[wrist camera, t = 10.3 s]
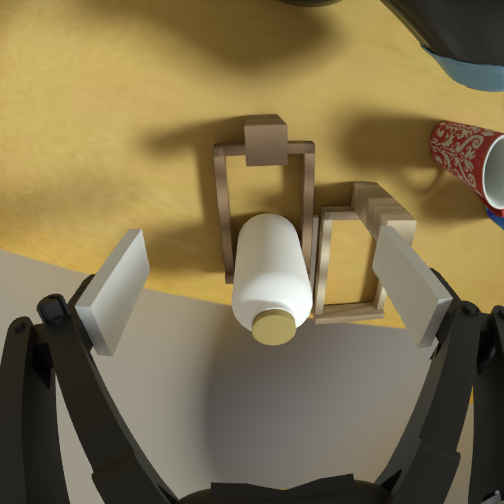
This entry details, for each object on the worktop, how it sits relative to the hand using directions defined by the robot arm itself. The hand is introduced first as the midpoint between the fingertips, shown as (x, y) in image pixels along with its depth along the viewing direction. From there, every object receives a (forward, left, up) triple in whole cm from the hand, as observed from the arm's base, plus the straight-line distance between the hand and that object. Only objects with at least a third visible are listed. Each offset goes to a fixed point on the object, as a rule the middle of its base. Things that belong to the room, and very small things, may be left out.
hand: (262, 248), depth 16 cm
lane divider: (+17, +7, -23) cm, 30 cm away
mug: (-1, +29, -24) cm, 37 cm away
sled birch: (+15, +14, -23) cm, 31 cm away
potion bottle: (+12, +1, -24) cm, 26 cm away
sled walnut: (+6, +1, -23) cm, 24 cm away
